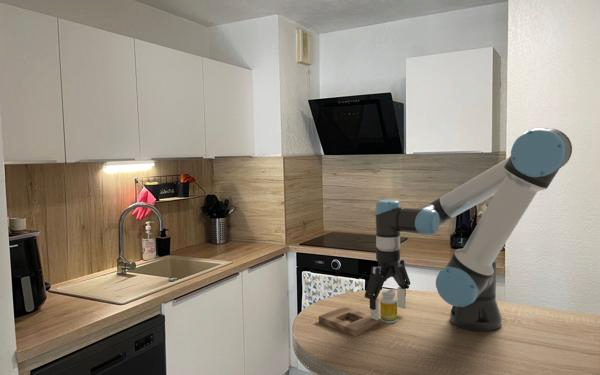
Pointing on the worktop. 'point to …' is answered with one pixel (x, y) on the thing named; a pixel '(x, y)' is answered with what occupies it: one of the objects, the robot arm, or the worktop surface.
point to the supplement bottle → (388, 306)
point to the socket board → (354, 328)
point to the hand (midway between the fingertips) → (388, 313)
